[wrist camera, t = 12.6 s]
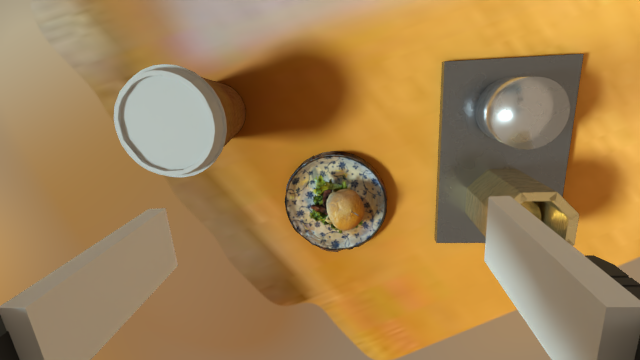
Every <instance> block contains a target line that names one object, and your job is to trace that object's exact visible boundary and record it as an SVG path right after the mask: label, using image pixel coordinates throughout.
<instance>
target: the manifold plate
mask: <svg viewBox="0 0 640 360" xmlns="http://www.w3.org/2000/svg"><path fill="white" fill-rule="evenodd" d="M582 61H583V54H571V55H554V56H536V57H519V58H501V59H483V60H466V61H448V62H442V78H441V101H440V125H439V149H438V172H437V196H436V219H435V241H436V243H486V238H485V236H484V235H483V234H482V233H481V231H480V230H479V229H478V228H477V226H476V225H475V224H474V223H473V222H472V220H471V219H470V218H469V217H468V215H467V214H466V213H465V208H466V193H467V187H468V186H470V185H471V184H472V183H473V182H474V181H475V180H476V179H478V178H479V177H480V176H481V175H482V174H483V173H484V172H485V171H487V170H488V169H518V170H519V171H521V172H523V173H525V174H526V175H528V176H530V177H532V178H533V179H535V180H537V181H539V182H540V183H542V184H544V185H546V186H547V187H549V188H551V189H553V190H554V191H556V192H558V193H559V194H560V195H561V196H562V197H563V190H564V183H565V176H566V170H567V163H568V156H569V149H570V143H571V136H572V129H573V122H574V115H575V109H576V102H577V95H578V88H579V81H580V75H581V68H582ZM521 205H522V206H523V207H524V208H526V209H527V210H528V211H529V212H531V213H532V214H533V215H534V216H536V217H537V218H538V219H539V220H541V212H540V209H539V207H538V206H537V205H536V204H535V203H533V202H532V201H524V202H523V203H522V204H521Z"/></svg>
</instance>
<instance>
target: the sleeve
mask: <svg viewBox="0 0 640 360" xmlns="http://www.w3.org/2000/svg"><path fill="white" fill-rule="evenodd" d="M490 196H511V197H512V198H513V199H514V200H516V201H517V202H518V203H519V204H522V203H523V202H524V201H532V202H533V203H535V204H536V205H537V206H538V207H539V209H540V212H541V221H542V222H543V223H544V224H546V225H547V226H548V227H549V228H551V229H552V230H553V231H554V232H555V233H557V234H558V235H559V236H560V237H562V238H563V239H564V240H565V241H567V242H568V243H569V244H570V245H572V246H573V245H574V244H575V238H576V232H577V226H578V219H579V213H578V212H577V211H576V210H575V209H574V208H573V207H572V206H571V205H570V204H569V203H568V202H567V201H566V200H565V199H564V198H563V197H562V196H561V195H560V194H559V193H558V192H556V191H554V190H553V189H551V188H549V187H547V186H546V185H544V184H542V183H540V182H539V181H537V180H535V179H533V178H532V177H530V176H528V175H526V174H525V173H523V172H521V171H519V170H518V169H488V170H487V171H485V172H484V173H483V174H482V175H481V176H480V177H479V178H478V179H476V180H475V181H474V182H473V183H472V184H471V185H470V186H468V187H467V193H466V208H465V213H466V214H467V215H468V217H469V218H470V219H471V220H472V222H473V223H474V224H475V225H476V226H477V228H478V229H479V230H480V231H481V233H482V234H483V235H484V236H485V238H486V229H487V213H488V198H489V197H490Z"/></svg>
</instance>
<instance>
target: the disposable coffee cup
mask: <svg viewBox="0 0 640 360" xmlns="http://www.w3.org/2000/svg"><path fill="white" fill-rule="evenodd" d="M245 116H246V112H245V105H244V103H243V100H242V98H241V97H240V95H239V94H238V93H237V92H236V91H235V90H234V89H233V88H231V87H230V86H227V85H225V84H221V83H218V82H215V81H212V80H208V79H205V78H202V77H200V76H199V75H197V74H196V73H195V72H193V71H190V70H188V69H186V68H183V67H180V66H176V65H168V64H162V65H153V66H151V67H148V68H146V69H143V70H141V71H140V72H138V73H137V74H136V75H134V76H133V77H132V78H131V79H130V80H129V81H128V82H127V83H126V84H125V86H124V87H123V88H122V89H121V91H120V92H119V95H118V98H117V100H116V103H115V107H114V123H115V129H116V132H117V134H118V137H119V139H120V142H121V144H122V146H123V147H124V149H125V150H126V152H127V153H128V154H129V155H130V157H132V158H133V160H134V161H136V162H137V163H138V164H139V165H141V166H142V167H144V168H145V169H147V170H149V171H152V172H155V173H157V174H160V175H166V176H171V177H187V176H192V175H196V174H198V173H200V172H202V171H204V170H206V169H207V168H208V167H210V166H211V165H212V164H213V163H214V162H215V161H216V159H217V158H218V156H219V155H220V153H221V151H222V149H223V147H224V146H225V145H226V144H227V143H228V142H229V141H230V140H231V139H232V138H233V137H234V136H235V135H236V134H237V133H238V132H239V131H240V130H241V128H242V126H243V124H244V122H245Z"/></svg>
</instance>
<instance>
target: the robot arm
mask: <svg viewBox="0 0 640 360" xmlns="http://www.w3.org/2000/svg"><path fill="white" fill-rule="evenodd" d="M484 261H485V262H486V264H487V265H488V267H489V268H490V270H491V271H492V273H493V274H494V276H495V277H496V279H497V280H498V281H499V283H500V284H501V286H502V287H503V289H504V290H505V292H506V293H507V295H508V296H509V298H510V299H511V301H512V302H513V304H514V305H515V306H516V308H517V309H518V311H519V312H520V314H521V315H522V317H523V318H524V320H525V321H526V323H527V324H528V326H529V327H530V328H531V330H532V331H533V333H534V334H535V336H536V337H537V339H538V340H539V342H540V343H541V345H542V346H543V348H544V349H545V351H546V352H547V354H548V355H549V356H550V358H551V359H552V360H640V284H639V283H638V282H636V281H635V280H634V279H632V278H629V277H628V275H627V274H626V273H624V272H623V271H622V270H620V269H619V268H618V267H616V266H615V265H613V264H611V263H609V262H607V261H605V260H602V259H600V258H598V257H596V256H584V255H583V254H582V253H580V252H579V251H578V250H577V249H575V248H574V247H573V246H572V245H570V244H569V243H568V242H567V241H565V240H564V239H563V238H562V237H560V236H559V235H558V234H557V233H555V232H554V231H553V230H552V229H551V228H549V227H548V226H547V225H546V224H544V223H543V222H542V221H541V220H539V219H538V218H537V217H536V216H534V215H533V214H532V213H531V212H529V211H528V210H527V209H526V208H524V207H523V206H522V205H521V204H519V203H518V202H517V201H516V200H514V199H513V198H512V197H511V196H490V197H489V198H488V213H487V229H486V244H485V260H484ZM177 266H178V264H177V260H176V255H175V250H174V245H173V241H172V236H171V232H170V227H169V223H168V218H167V213H166V209H165V208H162V209H148V210H146V211H145V212H143V213H142V214H140V215H139V216H138V217H136V218H134V219H133V220H131V221H130V222H128V223H127V224H125V225H124V226H122V227H120V228H119V229H117V230H116V231H114V232H113V233H111V234H110V235H108V236H107V237H105V238H104V239H102V240H101V241H99V242H98V243H96V244H94V245H93V246H91V247H90V248H88V249H87V250H85V251H84V252H82V253H81V254H79V255H78V256H76V257H75V258H73V259H72V260H70V261H69V262H67V263H65V264H64V265H63V266H61V267H59V268H58V269H56V270H55V271H53V272H52V273H50V274H49V275H47V276H46V277H44V278H43V279H41V280H40V281H38V282H36V283H35V284H33V285H32V286H30V287H29V288H27V289H26V290H24V291H23V292H21V293H20V294H18V295H17V296H15V297H14V298H12V299H11V300H9V301H7V302H6V303H4V304H3V305H1V306H0V360H91V359H92V358H93V357H94V356H95V355H96V353H97V352H98V351H99V350H100V349H101V348H102V347H103V346H104V345H105V344H106V343H107V342H108V341H109V340H110V338H111V337H112V336H113V335H114V334H115V333H116V332H117V331H118V330H119V329H120V328H121V326H122V325H123V324H124V323H125V322H126V321H127V320H128V319H129V318H130V317H131V316H132V315H133V314H134V312H135V311H136V310H137V309H138V308H139V307H140V306H141V305H142V304H143V303H144V302H145V301H146V300H147V298H148V297H149V296H150V295H151V294H152V293H153V292H154V291H155V290H156V289H157V288H158V287H159V286H160V284H161V283H162V282H163V281H164V280H165V279H166V278H167V277H168V276H169V275H170V274H171V273H172V272H173V270H174V269H175V268H176V267H177Z"/></svg>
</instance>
